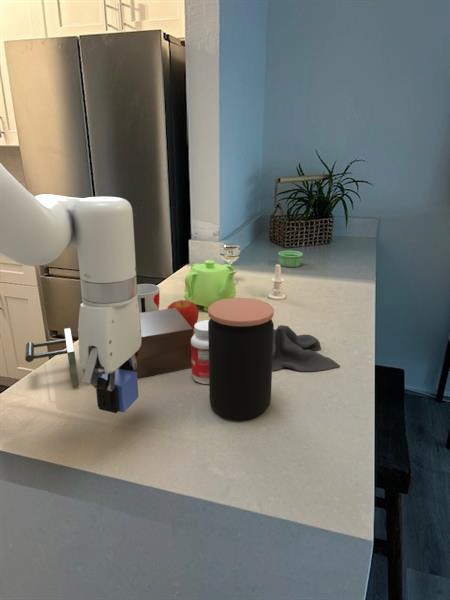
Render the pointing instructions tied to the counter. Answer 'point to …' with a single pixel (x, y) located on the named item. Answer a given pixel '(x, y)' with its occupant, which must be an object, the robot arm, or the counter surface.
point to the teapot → (209, 283)
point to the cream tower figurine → (277, 285)
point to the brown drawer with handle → (57, 353)
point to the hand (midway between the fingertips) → (118, 399)
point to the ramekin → (290, 258)
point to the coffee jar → (240, 357)
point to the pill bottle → (200, 352)
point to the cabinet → (163, 343)
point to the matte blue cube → (125, 387)
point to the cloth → (298, 352)
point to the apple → (186, 311)
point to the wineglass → (230, 253)
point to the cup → (148, 297)
